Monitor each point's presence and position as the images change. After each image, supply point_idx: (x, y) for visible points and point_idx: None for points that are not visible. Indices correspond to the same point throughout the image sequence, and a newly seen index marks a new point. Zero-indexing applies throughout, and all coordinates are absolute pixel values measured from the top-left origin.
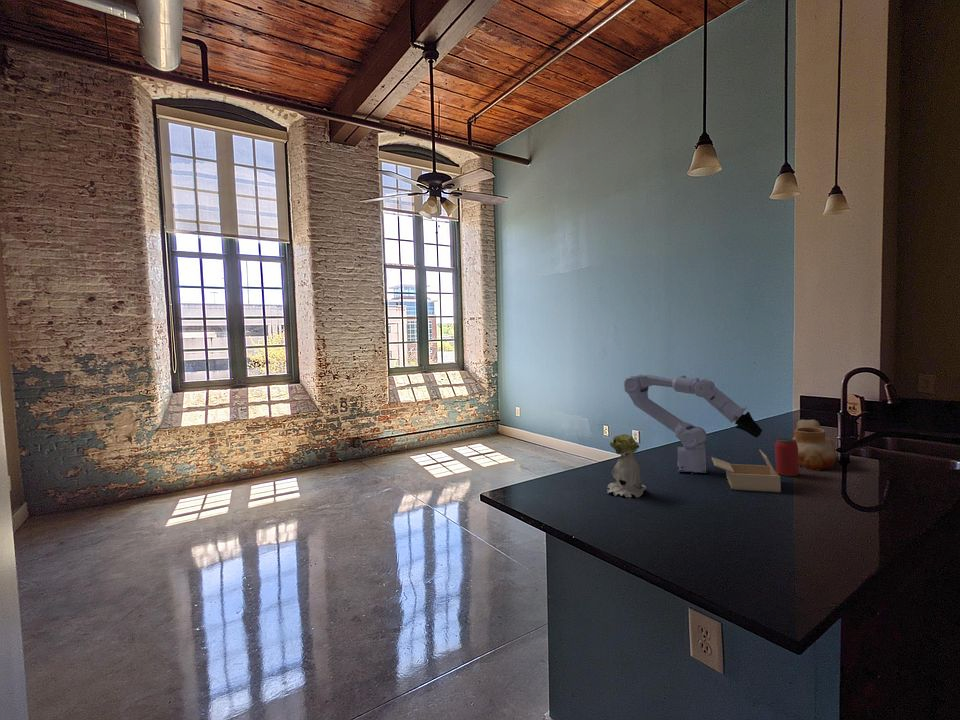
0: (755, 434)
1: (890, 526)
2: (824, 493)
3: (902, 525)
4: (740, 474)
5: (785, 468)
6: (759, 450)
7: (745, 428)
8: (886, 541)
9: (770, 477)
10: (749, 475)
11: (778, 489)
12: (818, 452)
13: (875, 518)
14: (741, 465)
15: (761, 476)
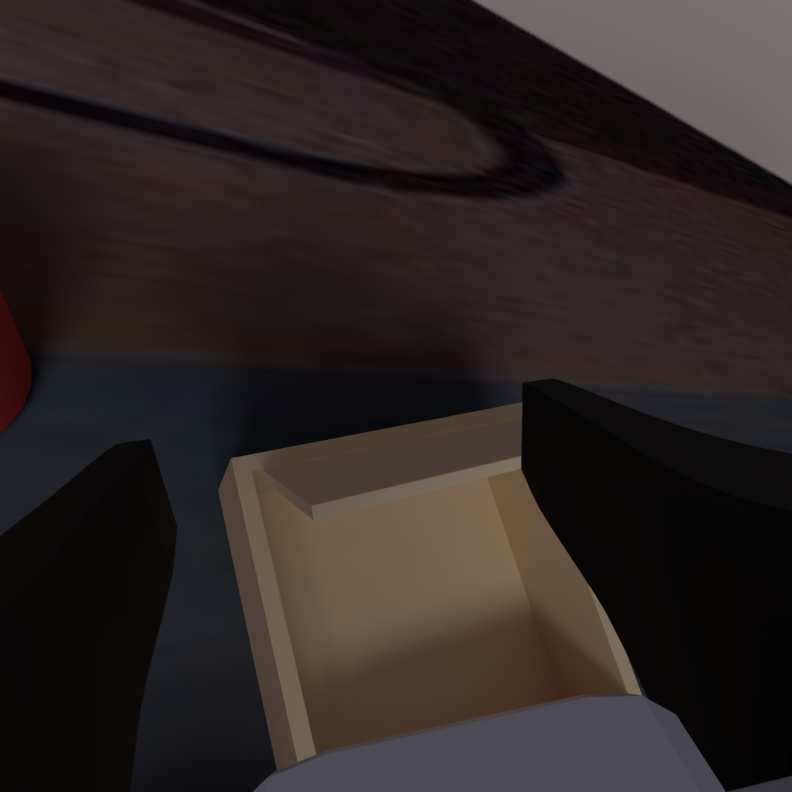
0: (164, 538)
1: (661, 154)
2: (383, 245)
3: (633, 123)
4: (622, 648)
5: (18, 371)
6: (346, 511)
7: (118, 741)
8: (776, 201)
9: None
10: None
11: None
12: None
13: (615, 166)
14: (305, 712)
15: None
